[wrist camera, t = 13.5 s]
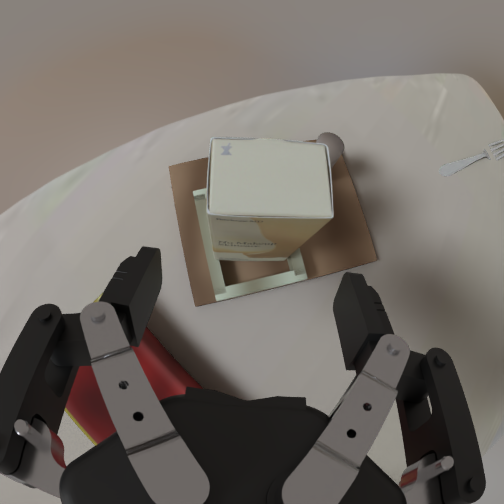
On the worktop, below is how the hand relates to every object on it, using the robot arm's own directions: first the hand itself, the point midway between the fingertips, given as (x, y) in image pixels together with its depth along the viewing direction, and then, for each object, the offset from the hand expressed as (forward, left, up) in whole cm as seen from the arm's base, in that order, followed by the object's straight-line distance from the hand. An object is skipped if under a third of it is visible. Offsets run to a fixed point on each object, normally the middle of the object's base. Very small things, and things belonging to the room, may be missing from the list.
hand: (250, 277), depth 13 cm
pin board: (-5, -7, -15) cm, 17 cm away
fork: (-38, -10, -15) cm, 42 cm away
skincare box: (-2, -5, -12) cm, 13 cm away
